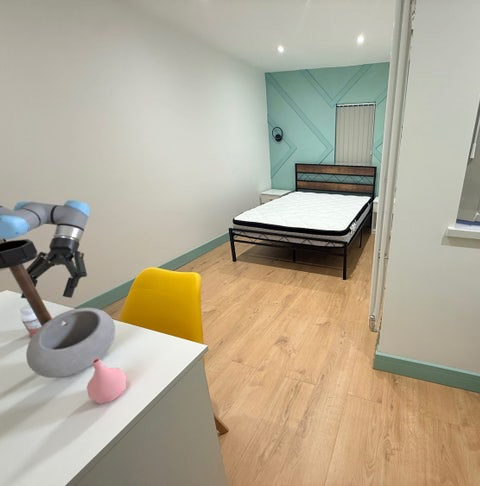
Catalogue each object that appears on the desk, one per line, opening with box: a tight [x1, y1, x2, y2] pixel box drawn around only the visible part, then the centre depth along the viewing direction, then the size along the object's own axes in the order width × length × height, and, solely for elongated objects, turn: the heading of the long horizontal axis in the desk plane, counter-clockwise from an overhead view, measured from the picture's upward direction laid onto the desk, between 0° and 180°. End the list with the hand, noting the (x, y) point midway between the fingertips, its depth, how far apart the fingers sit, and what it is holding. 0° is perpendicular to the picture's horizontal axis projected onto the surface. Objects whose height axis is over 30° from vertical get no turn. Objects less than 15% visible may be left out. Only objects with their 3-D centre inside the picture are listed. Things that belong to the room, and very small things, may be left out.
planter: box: [25, 307, 116, 379], centre depth 72 cm, size 18×7×19 cm, turn 153°
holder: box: [0, 238, 39, 270], centre depth 64 cm, size 9×9×4 cm
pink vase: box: [86, 358, 127, 404], centre depth 65 cm, size 8×8×12 cm
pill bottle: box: [19, 303, 53, 338], centre depth 86 cm, size 6×6×11 cm
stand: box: [8, 263, 53, 326], centre depth 72 cm, size 8×8×33 cm
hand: (46, 297), depth 89 cm, fingers open, 13 cm apart
